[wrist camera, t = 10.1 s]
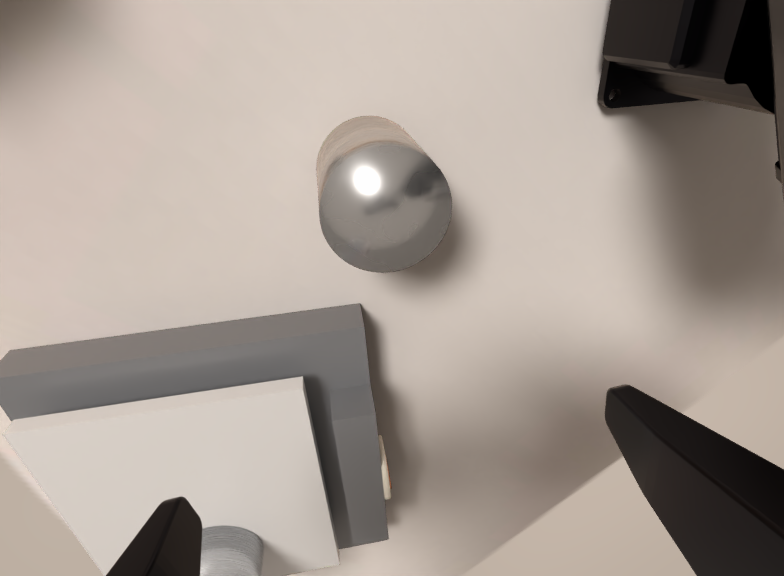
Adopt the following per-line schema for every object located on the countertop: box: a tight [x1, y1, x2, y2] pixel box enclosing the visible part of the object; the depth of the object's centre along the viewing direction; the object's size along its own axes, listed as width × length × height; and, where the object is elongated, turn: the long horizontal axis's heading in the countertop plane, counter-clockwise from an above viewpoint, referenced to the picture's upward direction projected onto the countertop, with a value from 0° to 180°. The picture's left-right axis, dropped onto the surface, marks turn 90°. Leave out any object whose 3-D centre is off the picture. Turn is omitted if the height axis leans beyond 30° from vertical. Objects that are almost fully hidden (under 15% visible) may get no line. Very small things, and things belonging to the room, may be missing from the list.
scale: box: [0, 303, 392, 576], centre depth 24 cm, size 16×17×5 cm
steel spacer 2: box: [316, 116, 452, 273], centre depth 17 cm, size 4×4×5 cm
